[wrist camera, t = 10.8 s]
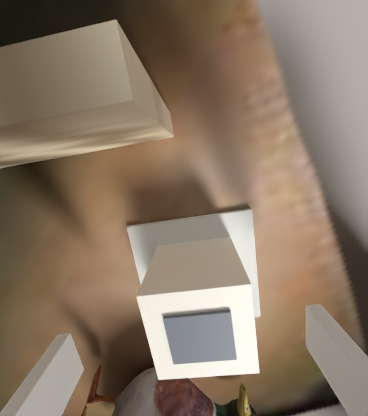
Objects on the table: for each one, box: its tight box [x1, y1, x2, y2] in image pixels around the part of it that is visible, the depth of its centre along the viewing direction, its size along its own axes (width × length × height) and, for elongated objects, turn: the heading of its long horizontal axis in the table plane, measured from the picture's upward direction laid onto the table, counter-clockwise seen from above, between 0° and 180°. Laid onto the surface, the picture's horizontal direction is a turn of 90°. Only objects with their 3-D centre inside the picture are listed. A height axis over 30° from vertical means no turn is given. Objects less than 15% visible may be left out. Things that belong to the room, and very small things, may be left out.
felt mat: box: [126, 209, 260, 317], centre depth 17 cm, size 10×10×1 cm
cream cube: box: [136, 237, 259, 380], centre depth 14 cm, size 6×6×6 cm
